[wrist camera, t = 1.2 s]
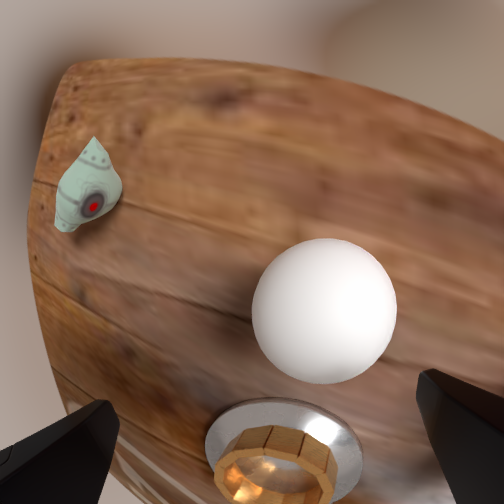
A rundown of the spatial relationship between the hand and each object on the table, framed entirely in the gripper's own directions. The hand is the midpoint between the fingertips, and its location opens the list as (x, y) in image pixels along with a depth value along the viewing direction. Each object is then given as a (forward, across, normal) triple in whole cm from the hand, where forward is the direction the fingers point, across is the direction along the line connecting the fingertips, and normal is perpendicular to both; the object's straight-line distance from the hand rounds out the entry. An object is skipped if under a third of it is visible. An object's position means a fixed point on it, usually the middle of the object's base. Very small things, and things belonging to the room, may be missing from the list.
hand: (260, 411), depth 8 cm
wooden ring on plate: (+12, +1, +17) cm, 21 cm away
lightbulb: (+14, -4, +1) cm, 14 cm away
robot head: (+18, +11, -7) cm, 23 cm away
